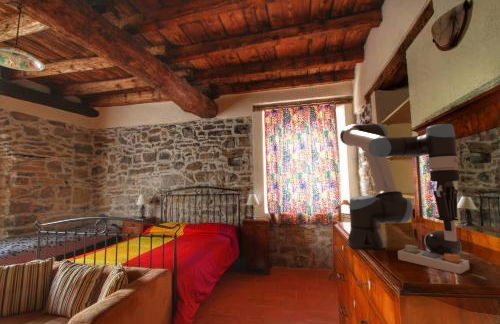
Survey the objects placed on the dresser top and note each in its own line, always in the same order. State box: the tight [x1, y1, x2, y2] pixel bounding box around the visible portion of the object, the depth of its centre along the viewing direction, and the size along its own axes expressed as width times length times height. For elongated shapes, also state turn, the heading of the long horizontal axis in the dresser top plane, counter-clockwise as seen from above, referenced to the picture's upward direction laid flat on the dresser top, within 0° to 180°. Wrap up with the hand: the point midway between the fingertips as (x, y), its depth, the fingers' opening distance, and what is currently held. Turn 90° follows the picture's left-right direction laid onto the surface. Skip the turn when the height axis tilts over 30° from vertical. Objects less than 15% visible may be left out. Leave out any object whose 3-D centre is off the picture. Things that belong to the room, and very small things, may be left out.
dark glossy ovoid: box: [423, 229, 462, 256], centre depth 85 cm, size 10×10×15 cm
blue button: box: [423, 250, 438, 259], centre depth 81 cm, size 4×4×2 cm
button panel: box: [397, 248, 470, 274], centre depth 81 cm, size 18×8×3 cm, turn 30°
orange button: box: [444, 253, 461, 264], centre depth 76 cm, size 4×4×2 cm
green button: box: [404, 244, 419, 254], centre depth 86 cm, size 4×4×2 cm
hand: (450, 240), depth 76 cm, fingers closed
